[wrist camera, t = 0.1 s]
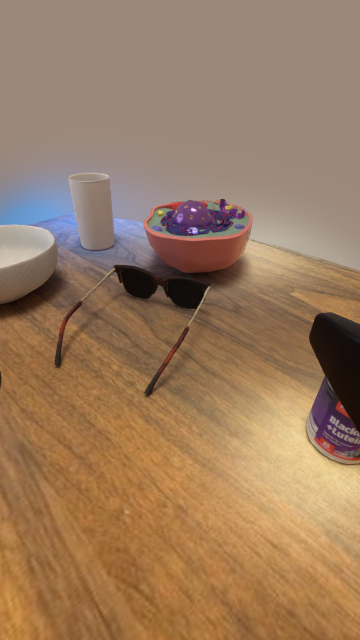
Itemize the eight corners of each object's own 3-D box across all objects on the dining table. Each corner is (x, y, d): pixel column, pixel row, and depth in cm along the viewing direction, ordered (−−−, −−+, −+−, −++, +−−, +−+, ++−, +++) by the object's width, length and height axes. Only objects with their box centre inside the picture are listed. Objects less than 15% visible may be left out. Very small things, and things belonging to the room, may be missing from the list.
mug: (119, 248, 59) (113, 179, 52) (83, 253, 57) (70, 182, 50) (108, 230, 67) (101, 168, 60) (75, 234, 65) (63, 170, 58)
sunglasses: (209, 312, 43) (212, 281, 39) (162, 407, 31) (159, 373, 28) (119, 292, 46) (114, 262, 43) (46, 369, 35) (33, 335, 32)
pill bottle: (310, 460, 26) (350, 375, 20) (300, 407, 30) (331, 325, 24) (381, 471, 25) (443, 386, 19) (360, 415, 29) (406, 333, 24)
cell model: (261, 253, 59) (272, 189, 52) (221, 304, 44) (231, 224, 38) (180, 236, 65) (181, 176, 58) (122, 276, 50) (115, 203, 44)
